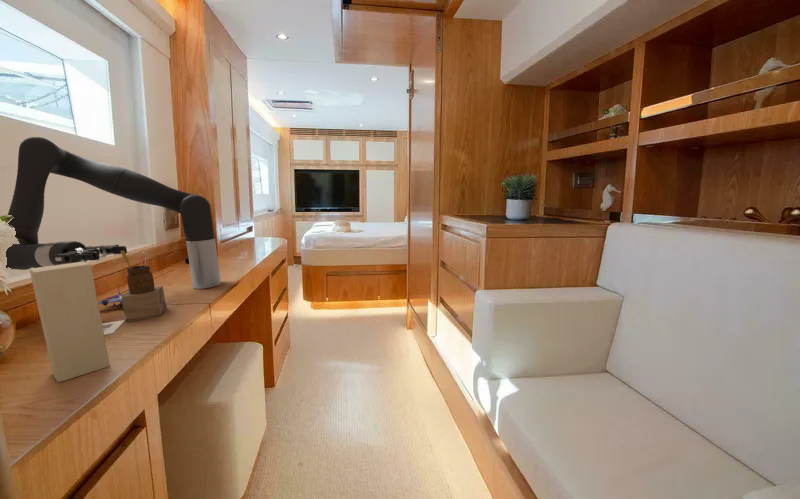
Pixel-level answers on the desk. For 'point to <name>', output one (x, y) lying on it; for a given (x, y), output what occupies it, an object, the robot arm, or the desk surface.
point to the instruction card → (111, 327)
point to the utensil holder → (139, 277)
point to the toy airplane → (112, 300)
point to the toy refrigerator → (70, 319)
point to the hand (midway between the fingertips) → (112, 252)
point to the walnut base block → (144, 304)
